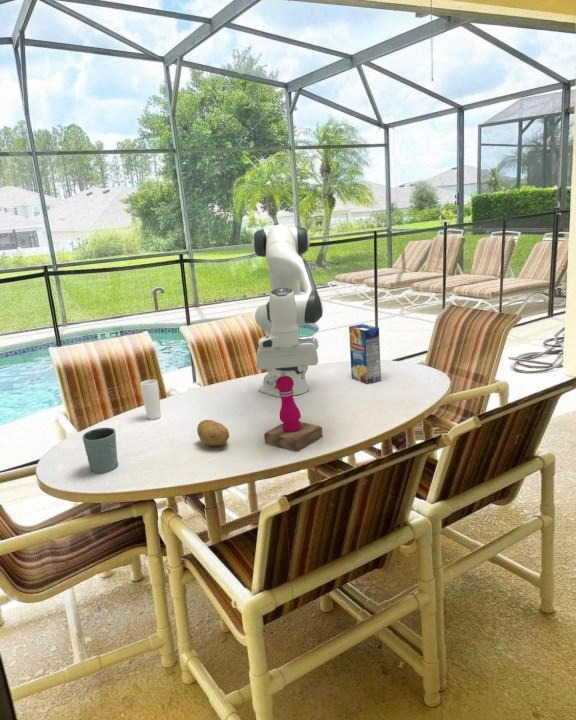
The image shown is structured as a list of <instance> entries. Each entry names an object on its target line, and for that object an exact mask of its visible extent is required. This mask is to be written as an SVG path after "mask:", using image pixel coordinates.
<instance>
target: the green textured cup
mask: <svg viewBox="0 0 576 720" xmlns="http://www.w3.org/2000/svg"><path fill="white" fill-rule="evenodd" d="M82 441H83V445H84V449H85V453H86V456H87V462H88V464H89V465H88V466H89V470H90V471H91V473H92V474H96V475H97V474H98V475H99V474H106V473H109V472H111V471H114V470H116V469H117V468H118V465H119V463H118V451H117V436H116V430H115V428H112V427H99V428H93V429H91V430H89V431H86V432H85V433H84V434H83V435H82Z"/></svg>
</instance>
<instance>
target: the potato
mask: <svg viewBox="0 0 576 720" xmlns="http://www.w3.org/2000/svg"><path fill="white" fill-rule="evenodd" d="M196 431H197V436H198V438H199V440H200V441H201V442H202V444H205V445H206V446H209V447H220V446H221V447H222V446H223V445H224V444H226V443H227V442H228V441H229V438H230V432H229V430H228V427H226V426H225V425H224V424H222V423H220V422H217V421H214V420H212V419H204V420H201V421H200V422H199V423H198V425H197V429H196Z"/></svg>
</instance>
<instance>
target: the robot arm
mask: <svg viewBox="0 0 576 720" xmlns="http://www.w3.org/2000/svg"><path fill="white" fill-rule="evenodd" d="M251 244H252V248H253V251H254V253H255V255H256V256H257V257H259V258H260V257H262V258H265V259H266V264H267V266H268V268H269V269H268V270H269V282H270V288H271V290H270V293H269V300H268V301H267V303H266V304H262V305H260V306H258V307H257V308H256V311H255V314H254V320H255V322H256V325H257V326H258V328H259V329H261V330H262V331H264V332H266V333H267V334H268V335H265V336H262V337H261V338H259V339H258V348H257V352H256V368H257V369H258V370H261V371H263V370H267V373H266V374H265V375H264V377H263V381H262V385H261V386H259V387H258V392H262V393H264V394H268V395H271V396H274V397H277V398H281V396H279V390H278V389H277V387H276V381H277V379H278V378H279V377H281V372H285V373H286V376H289V377H291V378H292V379H293V382H294V386H293V387H292V389H293V392H294V394H293V396H299V395H302V394H305V393H307V392H308V390H309V387H308V384H307V380H306V374H307V372H308V369H309V367H310V366H317V365H318V363H319V356H318V351H317V350H318V348H319V342H318V339H317V338H315V337H313V336H308V337H306V336H305V337H300V334H299V327H304V326H306V325H309V324H316V323H317V322H318V321H319V320H320V319H321V318H322V317H323V313H324V305H323V302H322V300H321V298H320V295H319V293H318V290H317V287H316V283H315V281H314V278H313V275H312V271H311V269H310V266H309V264H308V261H307V259H305V258H304V257H301V255H303V254H305V253H306V252H308V250H309V247H310V244H311V238H310V234H309V232H308V230H307V228H305V227H302V226H296V227H295V226H287V225H286V224H281V223H280V224H276V225H273V226H272V227H271V228H267V229H263V228H262V229H259V230H256V231H255V232H254V234H253V236H252V240H251ZM298 281H299V282H300V283H301V286H302V289H303V292H302V291H301V290H300V287H299V282H298Z"/></svg>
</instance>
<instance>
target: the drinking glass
mask: <svg viewBox="0 0 576 720" xmlns="http://www.w3.org/2000/svg"><path fill="white" fill-rule="evenodd" d="M158 381H159V380H157V379H146V380H143V381H141V382H140V390H141V391H140V392H141V396H142V397H141V398H142V400H143V404H144V407H145V408H144V409H145V412H146V416H147V419H148V420H150V421H151V420H152V421H153V420H157V419H160V418H161V404H160V403H161V401H160V398H161V397H160V388H159V387H160V386H159V382H158Z"/></svg>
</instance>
